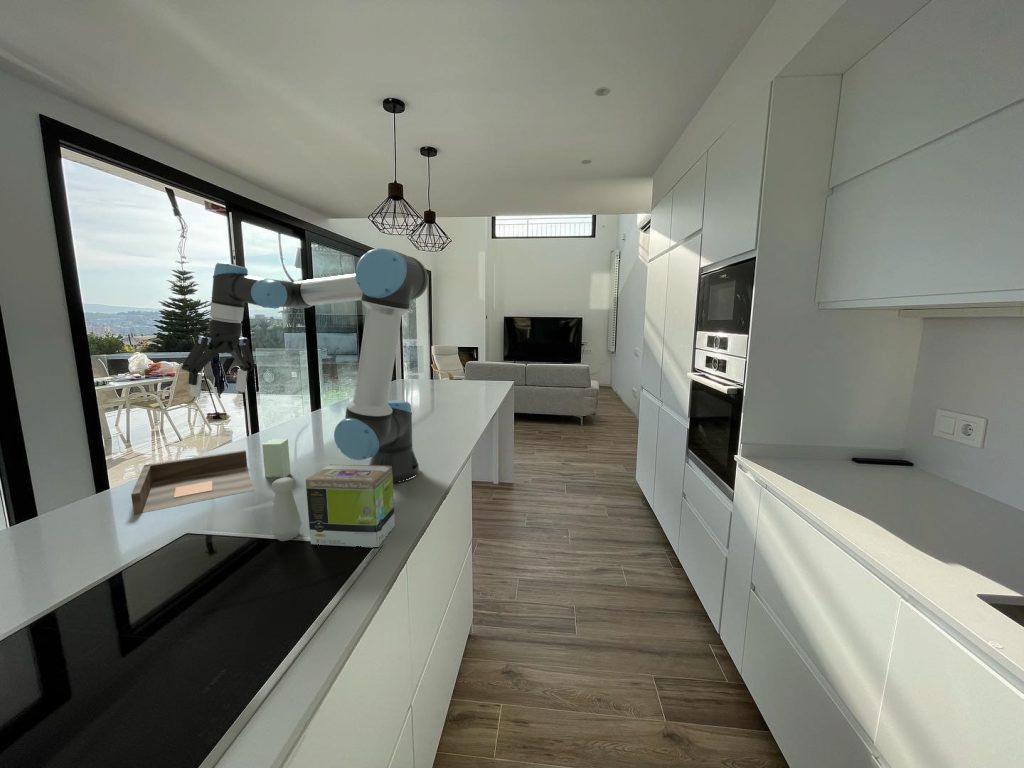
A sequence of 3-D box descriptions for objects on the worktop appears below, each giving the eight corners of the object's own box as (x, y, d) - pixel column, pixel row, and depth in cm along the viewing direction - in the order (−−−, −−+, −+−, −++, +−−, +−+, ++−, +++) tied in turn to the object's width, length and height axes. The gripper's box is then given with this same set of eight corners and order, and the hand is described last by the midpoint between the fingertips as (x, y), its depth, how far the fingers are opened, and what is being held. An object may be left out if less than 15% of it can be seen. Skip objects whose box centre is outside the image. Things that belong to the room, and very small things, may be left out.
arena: (253, 493, 110) (251, 472, 110) (134, 518, 96) (131, 494, 96) (247, 468, 130) (245, 450, 129) (146, 485, 116) (144, 465, 115)
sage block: (290, 473, 125) (287, 439, 124) (283, 479, 120) (280, 444, 119) (273, 474, 125) (270, 439, 123) (265, 480, 120) (262, 444, 118)
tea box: (396, 526, 94) (393, 464, 92) (377, 550, 84) (374, 481, 82) (334, 522, 95) (330, 461, 93) (308, 545, 85) (303, 478, 83)
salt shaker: (281, 546, 85) (276, 487, 83) (266, 538, 88) (261, 481, 86) (307, 534, 90) (303, 478, 88) (293, 527, 93) (288, 472, 91)
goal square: (212, 490, 110) (212, 490, 110) (173, 498, 105) (173, 497, 105) (212, 481, 116) (212, 480, 116) (175, 488, 112) (175, 487, 111)
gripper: (254, 320, 127) (246, 386, 130) (168, 313, 103) (161, 395, 106) (273, 325, 125) (265, 392, 128) (191, 319, 101) (183, 402, 104)
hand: (218, 393), depth 117 cm, fingers open, 13 cm apart
